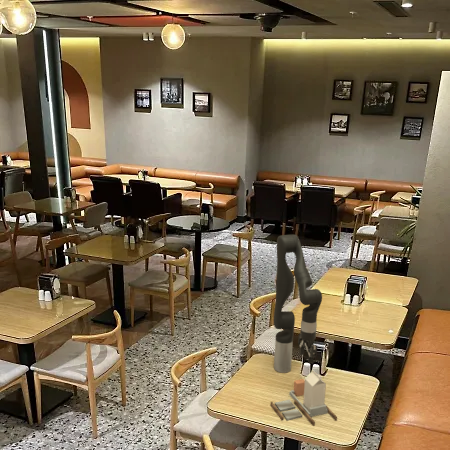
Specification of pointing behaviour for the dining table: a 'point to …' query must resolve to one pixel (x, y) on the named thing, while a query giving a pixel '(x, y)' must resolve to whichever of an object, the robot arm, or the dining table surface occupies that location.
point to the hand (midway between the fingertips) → (306, 358)
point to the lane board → (294, 411)
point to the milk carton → (314, 391)
